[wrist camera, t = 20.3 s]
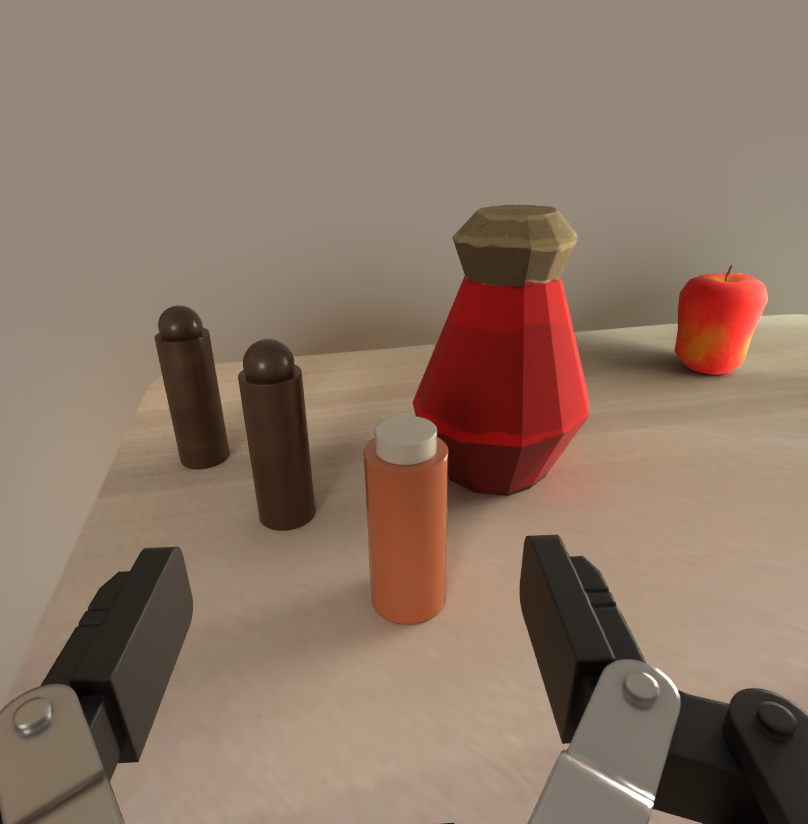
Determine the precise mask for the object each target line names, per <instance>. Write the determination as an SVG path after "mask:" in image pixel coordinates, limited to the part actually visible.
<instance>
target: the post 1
mask: <svg viewBox="0 0 808 824" xmlns="http://www.w3.org/2000/svg"><path fill="white" fill-rule="evenodd" d="M158 329H159V333H158V334H157V335H156V336H155V343H156V347H157V352H158V357H159V361H160V366H161V371H162V376H163V380H164V385H165V390H166V394H167V399H168V404H169V408H170V413H171V418H172V422H173V427H174V432H175V437H176V441H177V446H178V451H179V455H180V460H181V463H182V465H184V466H185V467H188V468H192V469H203V468H209V467H213V466H216V465H218V464H220V463H222V462H224V461H225V460H226V459H227V458H228V456H229V447H228V441H227V436H226V430H225V424H224V418H223V412H222V406H221V400H220V394H219V388H218V382H217V376H216V371H215V365H214V359H213V353H212V347H211V341H210V335H209V331H208V330H207V329H205V328H203V327H202V321H201V319H200V317H199V316H198V314H197V313H196V312H195V311H194V310H192V309H190V308H188V307H185V306H173V307H170V308H168V309H167V310H165V311H164V312H163V313H162V315H161V316H160V318H159V322H158Z"/></svg>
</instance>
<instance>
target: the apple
mask: <svg viewBox="0 0 808 824" xmlns="http://www.w3.org/2000/svg"><path fill="white" fill-rule="evenodd" d="M732 268H733V265H731V266H730V268H729V270H728V272H727V273H723V274H706V275H701V276H699V277H696V278H693V279H690V280H689V281H688V282H687V284H686V285H685V286H684V288H683V289H682V290H681V292H680V296H679V305H678V332H677V339H676V345H675V353H676V354H677V356H678V357H679V358H680V359H681V361H682V362H683V363H684V364H685V365H686V366H687V367H688V368H689V369H691V370H694V371H696V372H700V373H705V374H715V375H718V374H727V373H729V372H731V371H732V370H734V369H735V368H737V367H738V366H740V365H741V364H743V363H744V360H745V356H746V353H747V349H748V346H749V343H750V339H751V336H752V334H753V332H754V330H755V327H756V325H757V323H758V321H759V319H760V317H761V315H762V312H763V310H764V307H765V305H766V303H767V300H768V297H767V292H766V288H765V285H764V284H762V283H761V282H760V281H758V280H756V279H754V278H752V277H751V276H748V275H745V274H729V273H730V272H731V270H732Z"/></svg>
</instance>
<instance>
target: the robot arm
mask: <svg viewBox="0 0 808 824" xmlns="http://www.w3.org/2000/svg"><path fill="white" fill-rule="evenodd" d="M520 603H521V609H522V613H523V617H524V620H525V623H526V626H527V630H528V633H529V636H530V639H531V643H532V646H533V649H534V653H535V656H536V659H537V662H538V666H539V669H540V672H541V675H542V679H543V682H544V685H545V689H546V692H547V695H548V698H549V702H550V705H551V708H552V711H553V715H554V718H555V721H556V725H557V728H558V731H559V734H560V738H561V741H562V744H565V743H570V745H569V747H568V749H567V751H565V750H563V751H562V752H561V753H560V755H559V757H558V759H557V761H556V763H555V765H554V767H553V769H552V771H551V773H550V776H549V778H548V780H547V782H546V784H545V787H544V789H543V791H542V793H541V795H540V797H539V800H538V802H537V804H536V806H535V808H534V811H533V813H532V815H531V817H530V819H529V821H528V824H648V822H649V819H650V815H651V811H652V809H656V810H659V811H662V812H666V813H669V814H673V815H676V816H679V817H683V818H686V819H690V820H693V821H697V822H700V823H703V824H808V714H807V713H806V712H805V711H804V710H803V709H801V708H800V707H799V706H798V705H796V704H795V703H793V702H792V701H791V700H789V699H787V698H785V697H783V696H781V695H779V694H777V693H774V692H771V691H768V690H764V689H756V688H750V689H744V690H741V691H739V692H737V693H736V694H735V695H734V696H733V698H732V699H731V702H730V704H727V703H723V702H718V701H714V700H710V699H706V698H702V697H697V696H694V695H690V694H687V693H684V692H682V691H679V690H678V689H677V688H676V687H675V685H674V684H673V682H672V681H671V680H670V679H669V678H668V677H667V676H666V675H665V674H664V673H663V672H661V671H660V670H658V669H657V668H655V667H653V666H651V665H649V664H647V662H646V661H645V659H644V657H643V655H642V653H641V651H640V649H639V647H638V645H637V643H636V641H635V639H634V637H633V635H632V633H631V631H630V629H629V627H628V625H627V623H626V622H625V620H624V618H623V616H622V614H621V612H620V610H619V608H618V607H617V606H616V602H615V600H614V598H613V596H612V594H611V592H609V588H608V586H607V584H606V582H605V580H604V579H603V577H602V575H601V573H600V571H599V570H598V569H597V568H596V567H595V566H593V565H592V564H591V563H590V562H589V561H588V560H587V559H586V558H585V557H583V556H574V557H569V555H568V553H567V550H566V548H565V546H564V544H563V542H562V539H561V538H560V536H559V535H538V536H526V538H525V541H524V550H523V559H522V569H521V578H520ZM192 612H193V599H192V593H191V589H190V584H189V580H188V575H187V571H186V567H185V562H184V558H183V554H182V551H181V549H180V548H179V547H161V548H145V549H143V550H142V551H141V553H140V554H139V556H138V558H137V560H136V561H135V563H134V565H133V567H132V569H131V570H130V571H127V572H118V573H117V574H116V575H115V576H113V577H112V578H111V579H110V580H109V581H108V582H106V583H105V584H104V585H103V586H102V587H101V588H100V589H99V590H98V592H97V593H96V595H95V597H94V598H93V600H92V602H91V603H90V605H89V607H88V611H86V612H85V613H84V615H83V617H82V618H81V620H80V621H79V626H78V627H76V628H75V630H74V631H73V633H72V635H71V636H70V638H69V640H68V641H67V643H66V645H65V646H64V648H63V650H62V651H61V653H60V654H59V656H58V658H57V659H56V661H55V663H54V664H53V666H52V668H51V669H50V671H49V673H48V674H47V676H46V678H45V679H44V681H43V683H42V684H41V686H40V687H36V688H34V689H31V690H29V691H27V692H25V693H23V694H21V695H20V696H18V697H17V698H15V699H14V700H12V701H11V702H10V703H9V704H7V705H6V706H5V707H4V708H3V709H2V710H1V711H0V824H125V822H124V820H123V817H122V814H121V811H120V809H119V806H118V803H117V800H116V798H115V795H114V792H113V789H112V787H111V784H110V780H111V778H112V775H113V773H114V771H115V768H116V766H117V763H130V762H139V759H140V756H141V754H142V751H143V748H144V746H145V743H146V740H147V738H148V735H149V732H150V730H151V727H152V725H153V722H154V719H155V717H156V714H157V711H158V709H159V706H160V703H161V701H162V698H163V695H164V693H165V690H166V687H167V685H168V682H169V679H170V677H171V674H172V672H173V669H174V666H175V664H176V661H177V658H178V656H179V653H180V650H181V648H182V645H183V642H184V640H185V637H186V634H187V632H188V629H189V626H190V623H191V619H192ZM444 824H454V823H444Z"/></svg>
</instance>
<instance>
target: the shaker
mask: <svg viewBox="0 0 808 824" xmlns="http://www.w3.org/2000/svg"><path fill="white" fill-rule="evenodd" d="M374 436H375V438H373V439H372V440H370V441H369V442H368V443H367V444H366V446H365V448H364V471H365V491H366V510H367V529H368V548H369V568H370V587H371V601H372V605H373V607H374V608H375V610H376V611H377V612H378V614H380V615H381V616H382V617H384V618H385V619H387V620H389V621H392V622H395V623H399V624H416V623H421V622H424V621H427V620H429V619H431V618H432V617H434V616H435V615H436V614H437V613H438V612H439V611H440V610H441V609H442V607H443V605H444V602H445V586H446V541H447V497H448V447H447V445H446V444H445V442H444V441H443V440H441V439H440V438H438V437H437V428H436V426H435V424H434V423H432V422H431V421H429V420H427V419H425V418H422V417H417V416H396V417H391V418H388V419H385V420H383V421H381V422H380V423H378V424H377V426H376V427H375V430H374Z"/></svg>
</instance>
